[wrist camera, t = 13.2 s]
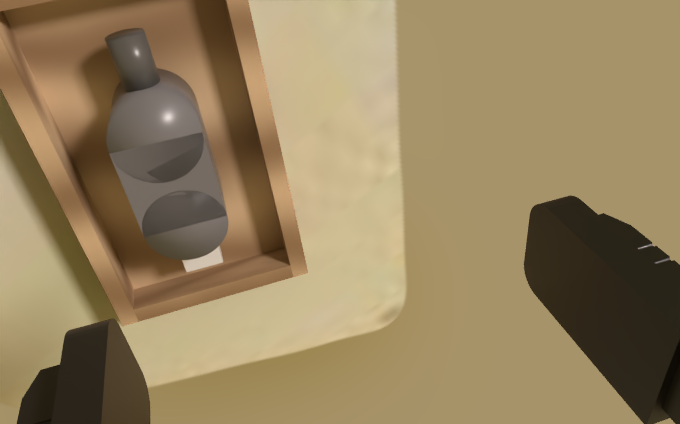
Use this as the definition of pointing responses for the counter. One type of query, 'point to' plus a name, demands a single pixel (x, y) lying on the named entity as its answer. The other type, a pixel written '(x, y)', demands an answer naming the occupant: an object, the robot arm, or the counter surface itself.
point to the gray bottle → (164, 156)
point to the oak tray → (96, 164)
